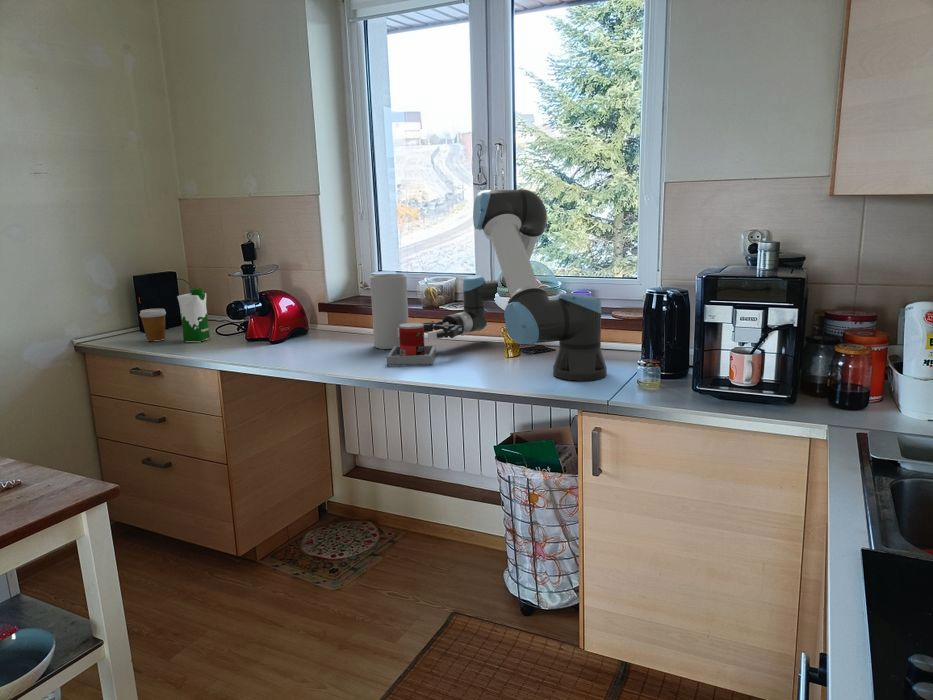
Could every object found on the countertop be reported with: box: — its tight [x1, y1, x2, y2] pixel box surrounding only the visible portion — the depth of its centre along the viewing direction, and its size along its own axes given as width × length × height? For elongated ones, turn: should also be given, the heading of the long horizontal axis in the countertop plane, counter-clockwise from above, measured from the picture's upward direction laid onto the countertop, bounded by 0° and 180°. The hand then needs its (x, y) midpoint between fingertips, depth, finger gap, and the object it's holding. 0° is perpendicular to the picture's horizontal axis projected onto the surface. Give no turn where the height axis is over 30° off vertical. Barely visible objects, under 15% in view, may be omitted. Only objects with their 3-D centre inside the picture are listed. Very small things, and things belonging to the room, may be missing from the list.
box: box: [386, 344, 437, 367], centre depth 223 cm, size 16×14×3 cm
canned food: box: [399, 322, 425, 356], centre depth 222 cm, size 8×8×11 cm
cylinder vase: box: [369, 273, 410, 350], centre depth 242 cm, size 12×12×25 cm
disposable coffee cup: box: [138, 307, 167, 341], centre depth 267 cm, size 10×10×12 cm
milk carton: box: [176, 287, 211, 342], centre depth 263 cm, size 9×9×20 cm
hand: (413, 334), depth 222 cm, fingers open, 13 cm apart
